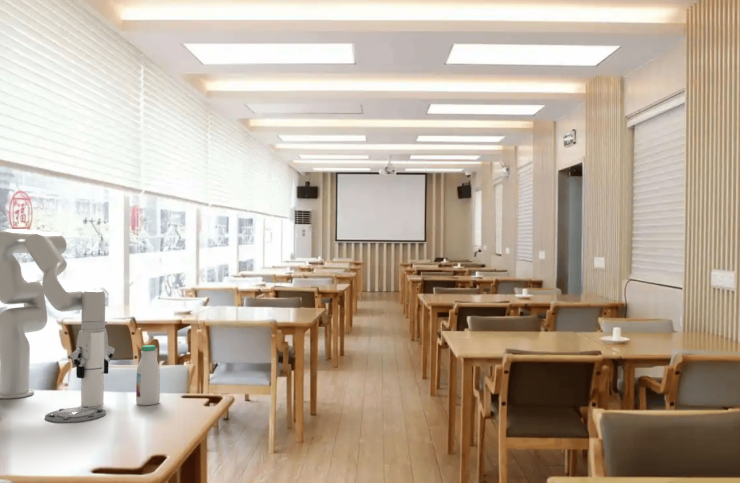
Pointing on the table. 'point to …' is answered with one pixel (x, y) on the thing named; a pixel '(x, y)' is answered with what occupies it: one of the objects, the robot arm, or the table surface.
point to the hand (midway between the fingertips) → (92, 375)
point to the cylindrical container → (94, 373)
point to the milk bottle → (148, 378)
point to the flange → (75, 414)
